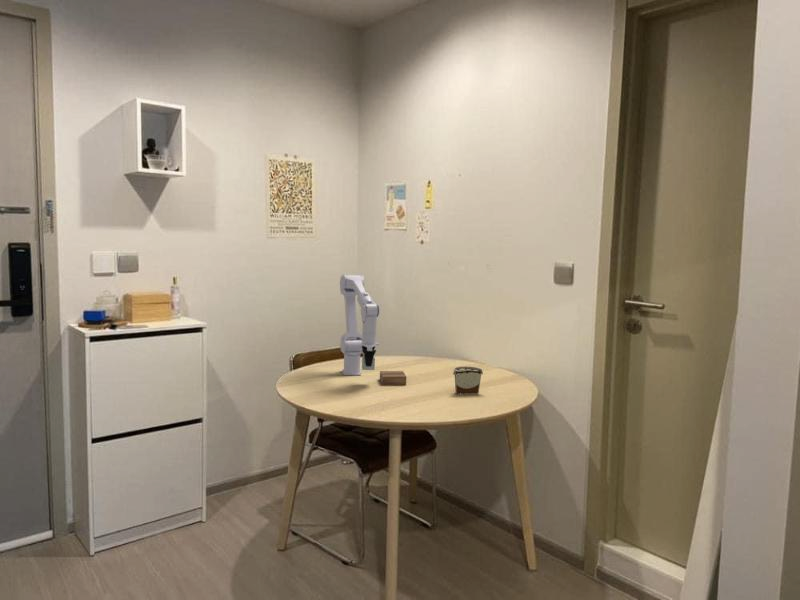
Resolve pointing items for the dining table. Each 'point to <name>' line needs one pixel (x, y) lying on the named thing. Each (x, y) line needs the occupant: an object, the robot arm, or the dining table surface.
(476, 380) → the food container
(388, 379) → the walnut block
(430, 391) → the dining table surface
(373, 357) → the gray cube
